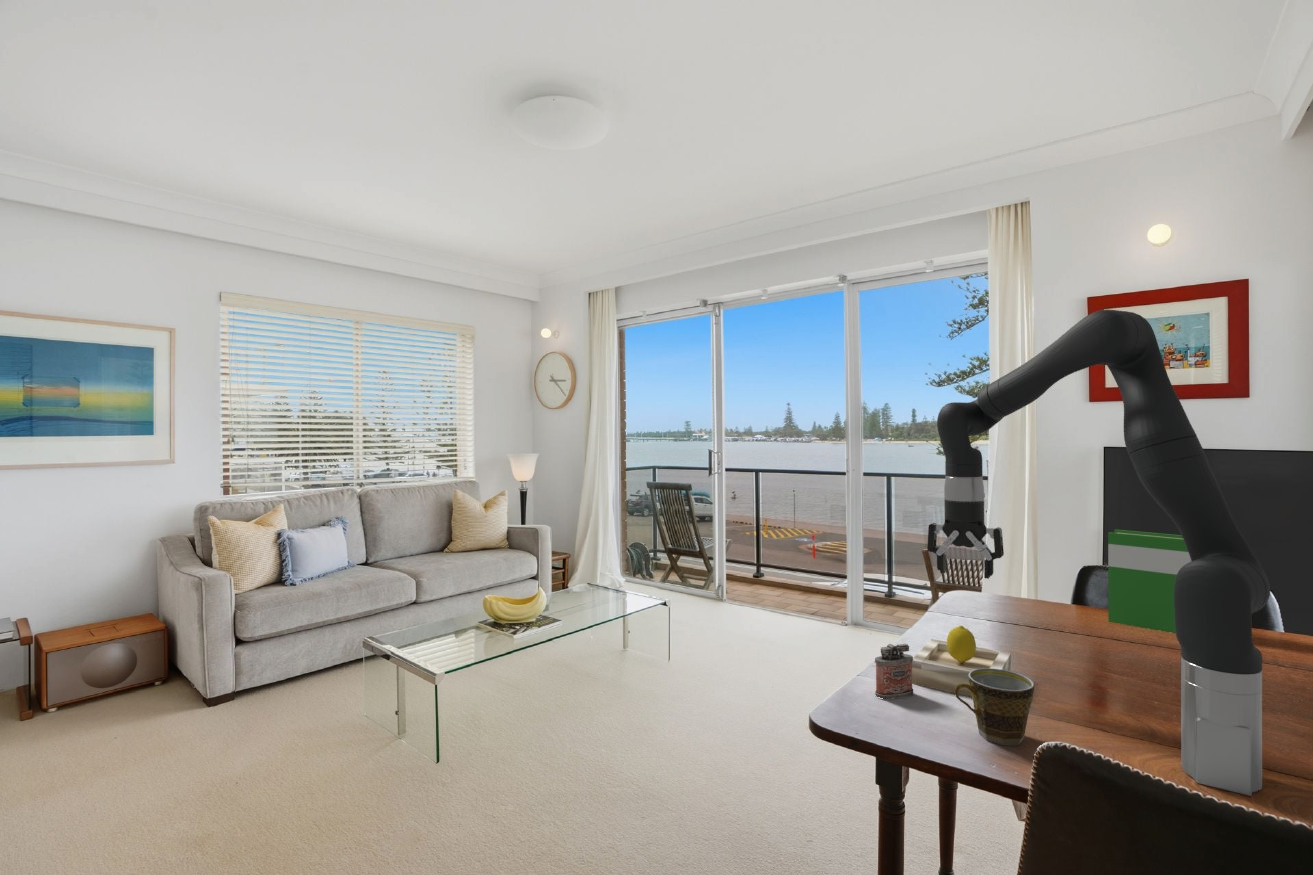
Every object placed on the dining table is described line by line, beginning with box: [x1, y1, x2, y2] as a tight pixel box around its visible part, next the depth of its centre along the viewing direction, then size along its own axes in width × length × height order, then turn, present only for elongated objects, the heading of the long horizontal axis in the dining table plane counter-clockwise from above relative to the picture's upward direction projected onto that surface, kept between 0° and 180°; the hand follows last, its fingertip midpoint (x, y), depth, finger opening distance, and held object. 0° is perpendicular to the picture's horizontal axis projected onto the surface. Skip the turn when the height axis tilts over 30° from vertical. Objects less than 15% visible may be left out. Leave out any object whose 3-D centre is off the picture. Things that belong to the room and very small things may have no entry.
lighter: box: [874, 643, 914, 700], centre depth 129 cm, size 8×3×10 cm, turn 105°
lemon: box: [946, 625, 977, 664], centre depth 136 cm, size 6×6×8 cm
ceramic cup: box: [954, 668, 1035, 747], centre depth 111 cm, size 13×10×10 cm
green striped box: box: [1107, 529, 1191, 635], centre depth 170 cm, size 18×7×24 cm, turn 43°
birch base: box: [912, 638, 1012, 698], centre depth 136 cm, size 16×16×6 cm
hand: (964, 575), depth 136 cm, fingers open, 8 cm apart
